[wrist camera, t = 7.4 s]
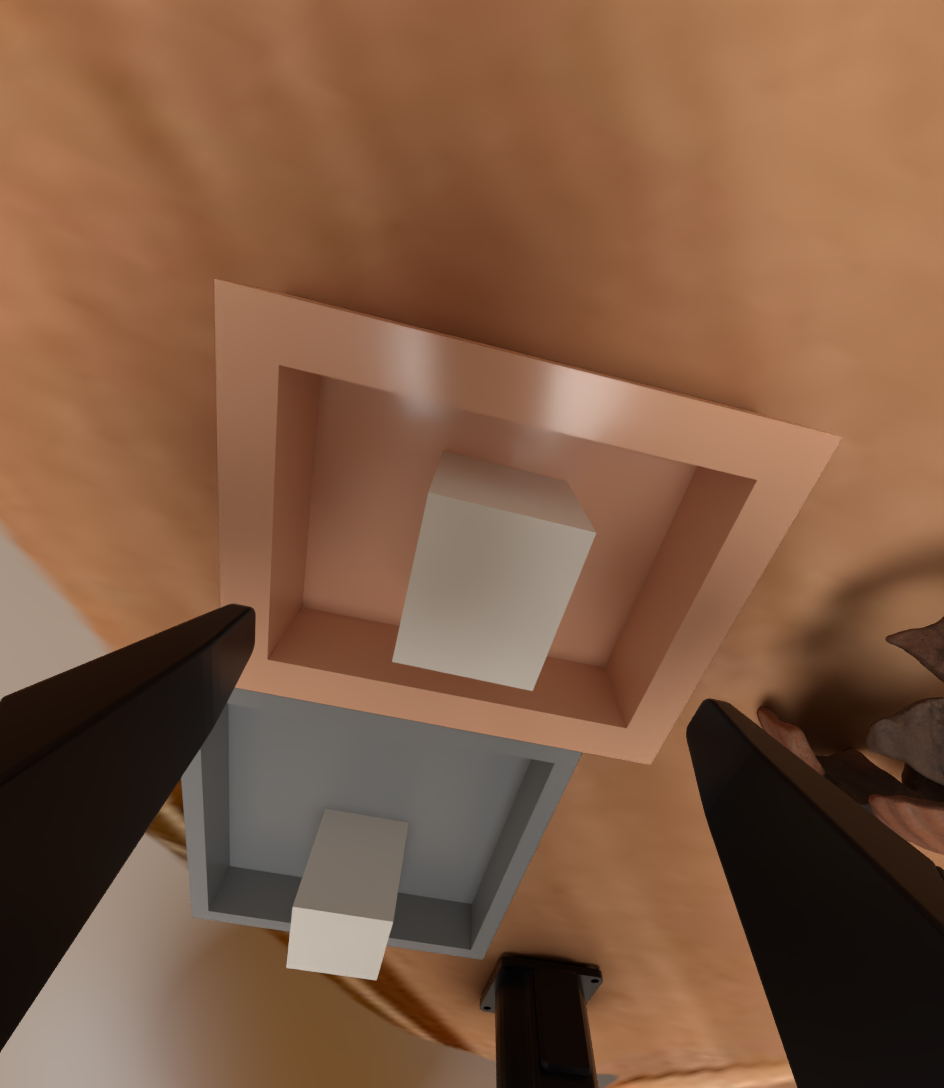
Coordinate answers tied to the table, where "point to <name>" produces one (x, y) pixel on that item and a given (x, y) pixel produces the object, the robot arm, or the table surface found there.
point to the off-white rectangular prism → (347, 895)
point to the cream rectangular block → (491, 572)
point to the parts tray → (368, 789)
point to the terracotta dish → (502, 438)
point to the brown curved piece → (892, 753)
